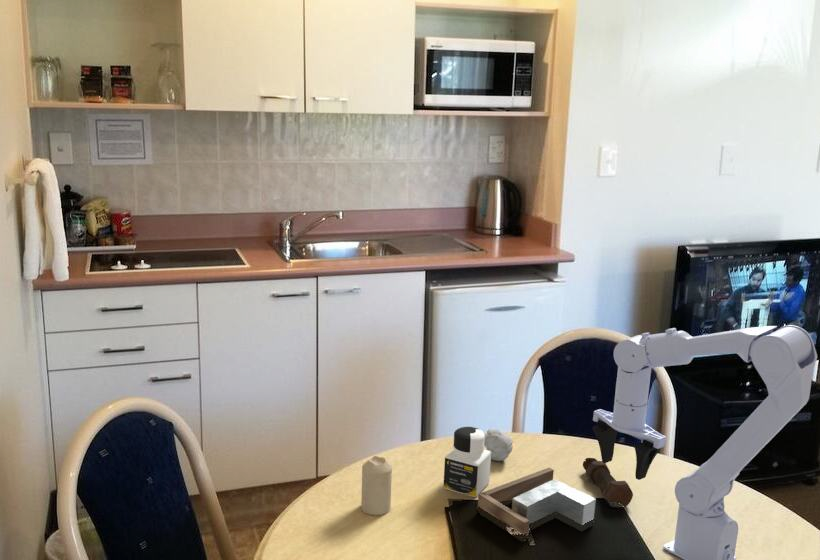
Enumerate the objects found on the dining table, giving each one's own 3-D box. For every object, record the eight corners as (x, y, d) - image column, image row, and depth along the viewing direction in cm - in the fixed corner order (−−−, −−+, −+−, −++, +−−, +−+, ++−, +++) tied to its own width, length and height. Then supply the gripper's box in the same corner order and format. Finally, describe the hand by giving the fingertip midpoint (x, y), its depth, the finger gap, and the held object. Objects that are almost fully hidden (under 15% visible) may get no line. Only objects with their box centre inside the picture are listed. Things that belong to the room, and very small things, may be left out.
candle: (364, 517, 142) (365, 467, 139) (358, 502, 147) (359, 454, 145) (393, 514, 143) (395, 464, 141) (386, 499, 148) (388, 451, 146)
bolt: (591, 479, 163) (622, 514, 149) (572, 469, 162) (601, 503, 148) (606, 456, 163) (638, 489, 148) (587, 446, 162) (618, 478, 147)
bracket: (551, 549, 134) (554, 520, 133) (510, 525, 141) (512, 498, 140) (592, 526, 142) (595, 498, 140) (552, 505, 149) (554, 478, 147)
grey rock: (476, 455, 168) (478, 425, 166) (506, 452, 170) (508, 423, 168) (486, 468, 162) (488, 437, 161) (517, 465, 164) (519, 434, 163)
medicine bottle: (442, 488, 153) (445, 433, 150) (457, 474, 159) (460, 420, 156) (475, 498, 150) (479, 441, 147) (489, 483, 156) (493, 428, 153)
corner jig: (594, 511, 147) (596, 492, 146) (523, 543, 135) (524, 522, 134) (547, 485, 156) (549, 467, 155) (477, 513, 145) (478, 493, 144)
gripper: (679, 409, 136) (670, 479, 139) (612, 384, 147) (606, 449, 150) (654, 418, 132) (646, 490, 135) (588, 391, 143) (582, 458, 146)
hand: (623, 469), depth 143 cm, fingers open, 7 cm apart
